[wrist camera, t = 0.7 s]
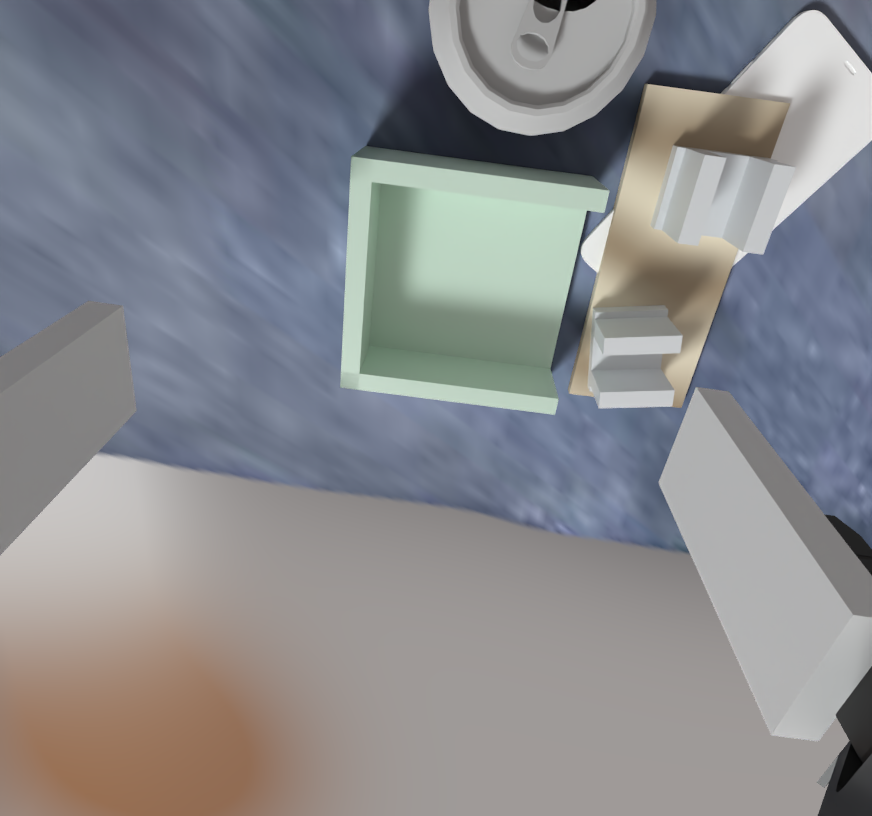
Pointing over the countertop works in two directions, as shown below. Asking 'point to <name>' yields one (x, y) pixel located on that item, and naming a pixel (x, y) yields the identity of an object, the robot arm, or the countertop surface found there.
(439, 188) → the green open box
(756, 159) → the clip
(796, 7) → the countertop surface
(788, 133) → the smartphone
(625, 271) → the board
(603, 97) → the can
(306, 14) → the countertop surface
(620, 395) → the clip
